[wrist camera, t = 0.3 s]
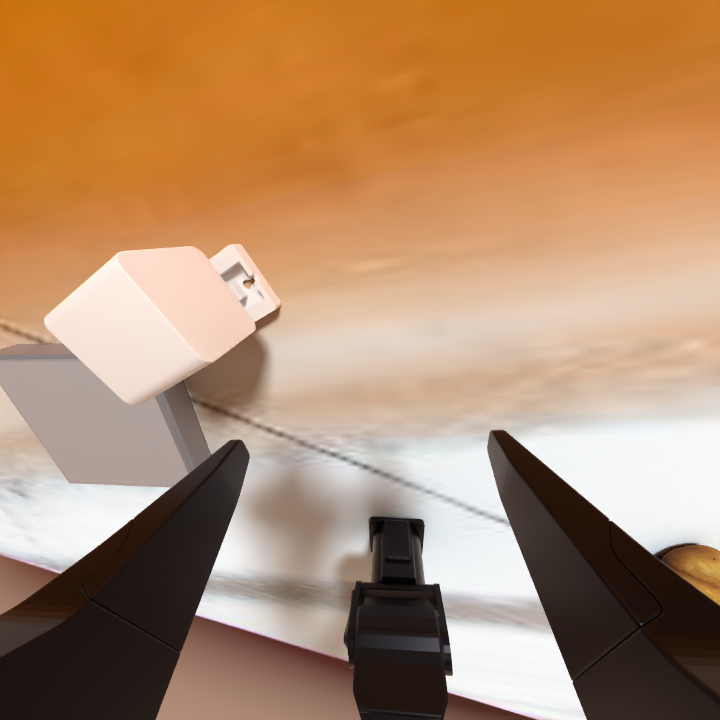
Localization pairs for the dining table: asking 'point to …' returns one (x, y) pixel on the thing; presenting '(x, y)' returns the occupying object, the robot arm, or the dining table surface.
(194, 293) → the security camera
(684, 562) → the bread roll
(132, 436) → the grey square slab
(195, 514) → the robot arm
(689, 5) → the dining table surface
